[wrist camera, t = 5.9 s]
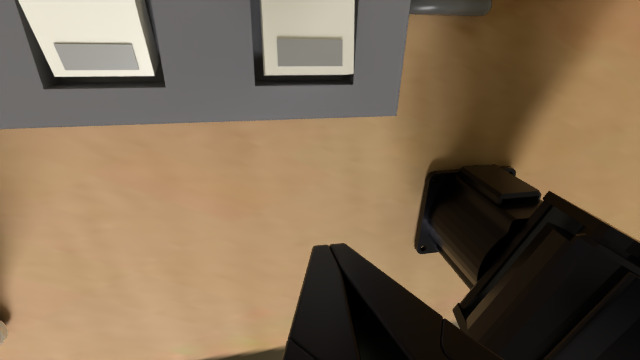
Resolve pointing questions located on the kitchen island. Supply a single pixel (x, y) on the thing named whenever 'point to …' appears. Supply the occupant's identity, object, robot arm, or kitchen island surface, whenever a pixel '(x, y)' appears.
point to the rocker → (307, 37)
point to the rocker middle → (94, 36)
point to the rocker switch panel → (211, 69)
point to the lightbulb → (3, 332)
